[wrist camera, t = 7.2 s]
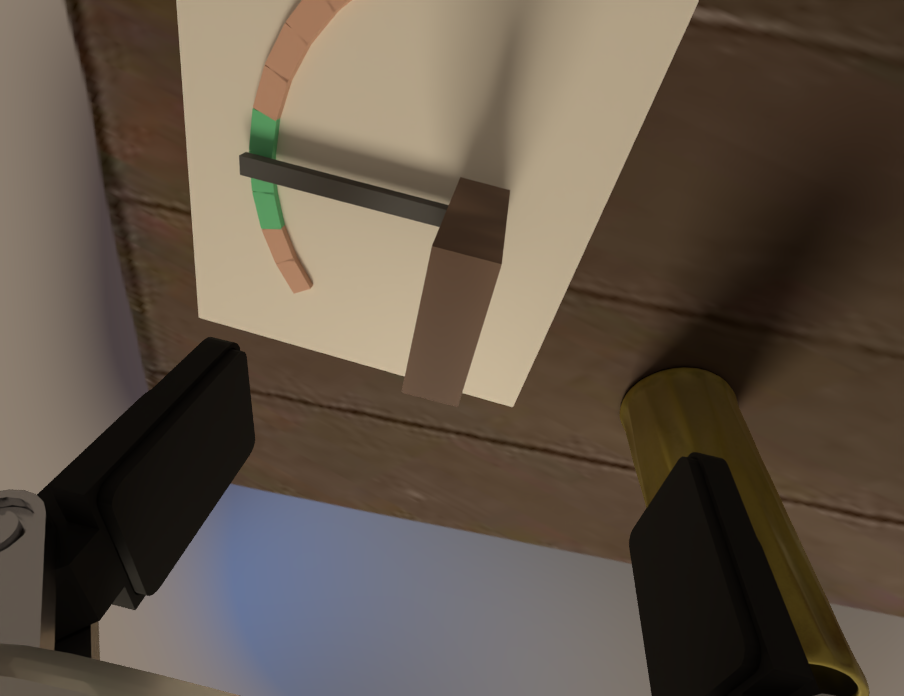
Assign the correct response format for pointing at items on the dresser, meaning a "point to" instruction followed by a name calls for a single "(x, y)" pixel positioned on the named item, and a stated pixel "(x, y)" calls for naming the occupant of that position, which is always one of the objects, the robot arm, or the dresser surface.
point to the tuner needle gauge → (449, 268)
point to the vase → (727, 436)
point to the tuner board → (408, 156)
